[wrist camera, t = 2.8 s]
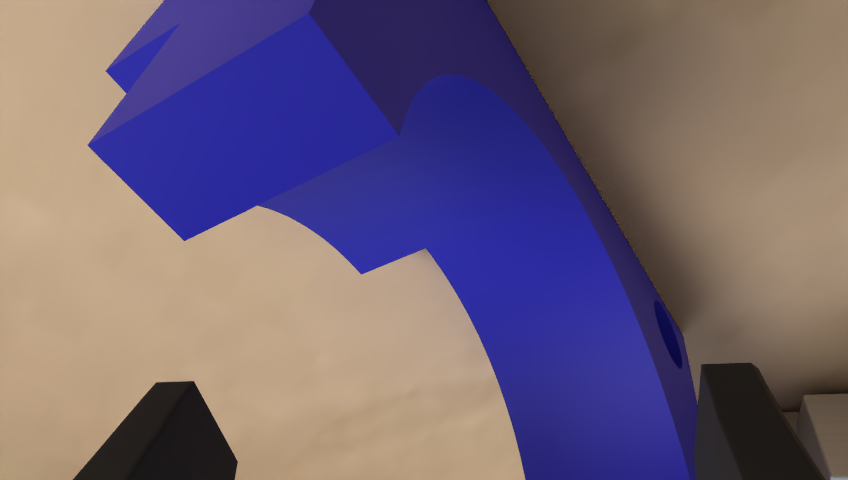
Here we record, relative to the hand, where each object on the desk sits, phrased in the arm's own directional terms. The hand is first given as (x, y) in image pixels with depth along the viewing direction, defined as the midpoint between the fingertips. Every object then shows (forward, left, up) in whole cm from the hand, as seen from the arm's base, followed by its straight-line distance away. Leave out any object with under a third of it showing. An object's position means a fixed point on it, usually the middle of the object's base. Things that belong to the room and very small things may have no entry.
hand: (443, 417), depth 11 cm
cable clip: (0, 0, -6) cm, 6 cm away
